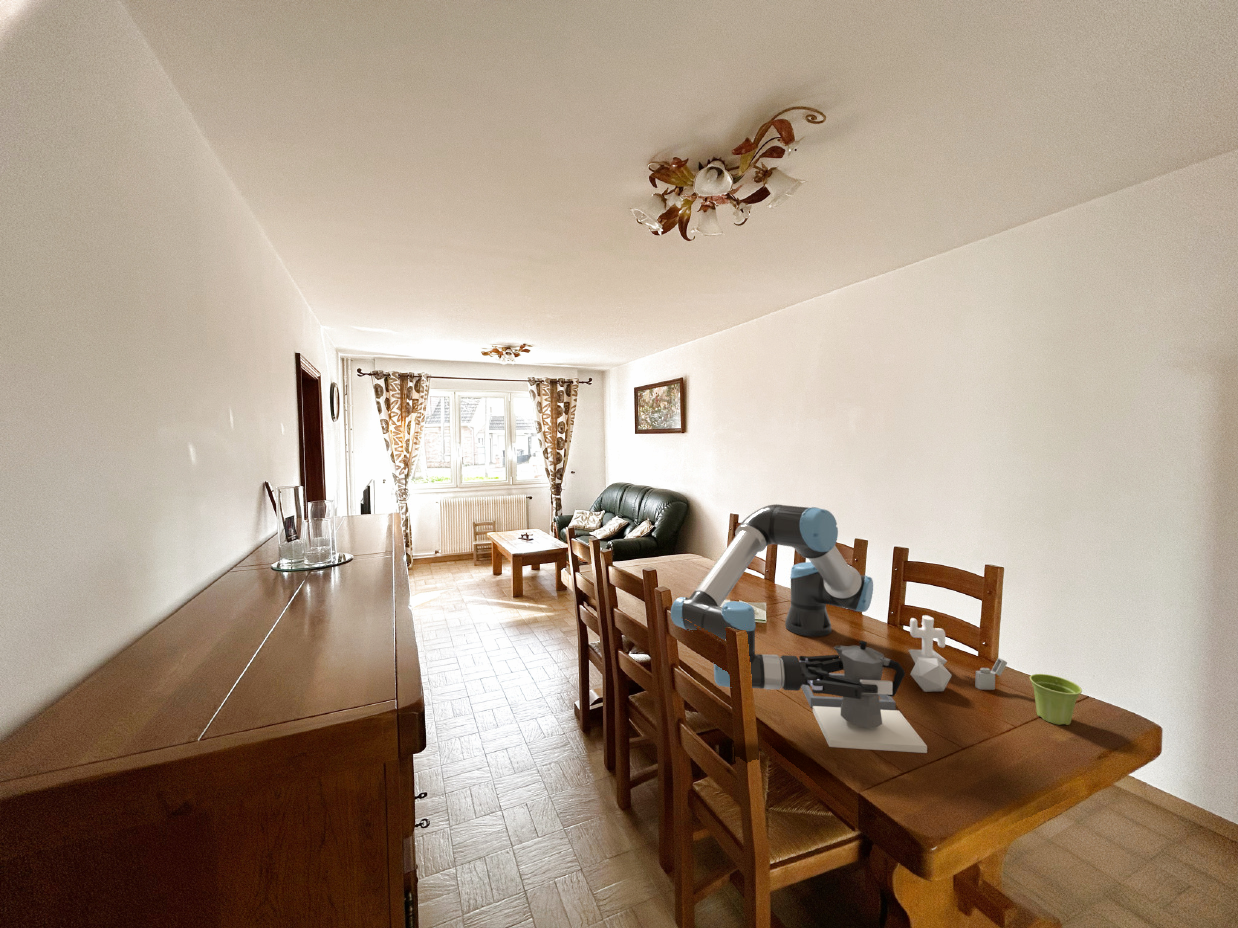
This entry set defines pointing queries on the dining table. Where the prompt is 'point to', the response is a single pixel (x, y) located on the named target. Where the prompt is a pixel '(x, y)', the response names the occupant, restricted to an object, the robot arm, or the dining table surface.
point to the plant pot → (1055, 698)
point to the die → (930, 674)
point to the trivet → (869, 732)
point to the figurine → (927, 639)
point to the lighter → (989, 675)
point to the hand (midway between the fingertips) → (882, 676)
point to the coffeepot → (865, 667)
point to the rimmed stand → (885, 700)
